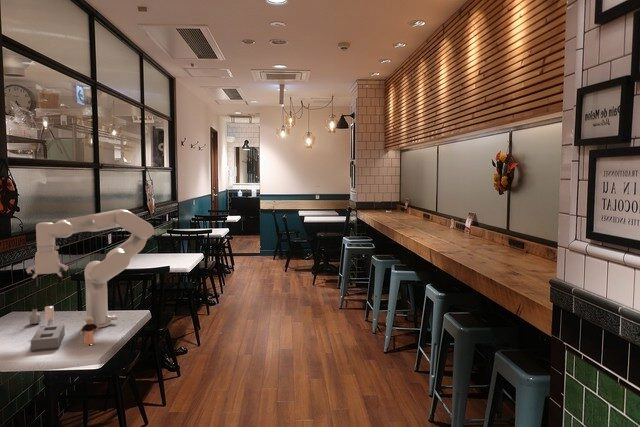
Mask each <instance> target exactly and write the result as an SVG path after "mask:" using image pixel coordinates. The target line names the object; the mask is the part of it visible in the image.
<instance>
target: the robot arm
mask: <svg viewBox="0 0 640 427" xmlns="http://www.w3.org/2000/svg"><path fill="white" fill-rule="evenodd" d="M115 228H122V229H124V230H125V231H127V232H129V233H131V235H130V236H129V238H128V239H126V240H125V241H124V242H123V243H120V244H119V245H118V246H115V248H113V249H111V250H109V251H108V253H106V256H105V258H104V259H103V260H102V261H100V260H93V261H89V262H88V263H87V264H86V266H85V268H84V280H85V281H84V282H85V302H86V303H85V304H86V306H85V308H86V309H85V310H86V317H88V316H91V317H93V321H92V323H91V324H95V325H96V326H97V328H98V329H100V328H105V327H107V326H110V325H111V324H112V321H118V317H119V316H118V315H110V313H109V311H108V310H109V307H108V282H109V281H110V280H111V279H113V278H114V277H115V276H118V275H119V274H120V273H122V272H123V271H124V270H126V269H127V267H128V266H129V265H130V263H131V259H132V258H134V257H135V256H136V255H138V254H139V253H141V251H142V250H143V249H144V247H145V246H146V244H147V241H148V239H149V238H151V237H152V236H153V235H154V232H155V231H154V226H153V225H152V224H151V223H149V222H148V221H146V220H144V219H143V218H141V217H139V216H138V215H136V214H135V213H133V212H131V211H129V210H127V209H122V208H120V209H114V210H109V211H104V212H103V211H102V212H98V213H93V214H88V215H82V216H76V217H70V218H65V219H60V220H58V221H56V222H50V221H49V222H46V221H45V222H38V223H37V224H36V225H35V232H36V233H35V236H36V239H35V240H36V249H37V250H36V252H35V255H34V264H33V265H31V266H29V267H27V268H26V269H25V271H26V273H27V274H28V276H29V277H30V278H32V279H33V280H32V281H33V282H32V284H33V285H34V288H35V287H36V288H37V287H38V286H39V279H38V278H39V277H38V275H47V274H57V275H58V278H57V282H58V286H61V285H62V283H63V275H65V274H66V272H67V270H68V269H69V266H68V265H67V264H66V265H65V264H63V263H61V262H60V254H59V251H58V250H59V249H60V246H59V245H56V238H64V239H66V238H69V237H71V236H72V235H73V234H77V233H82V232H101V231H106V230H109V229H115ZM61 268H63V270H62V272H61ZM33 269H34V273H33V272H32V270H33ZM86 324H87V323H86V322H85V321H84V323H83V324H82V325H83V326H82V327H84V326H85V325H86Z"/></svg>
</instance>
